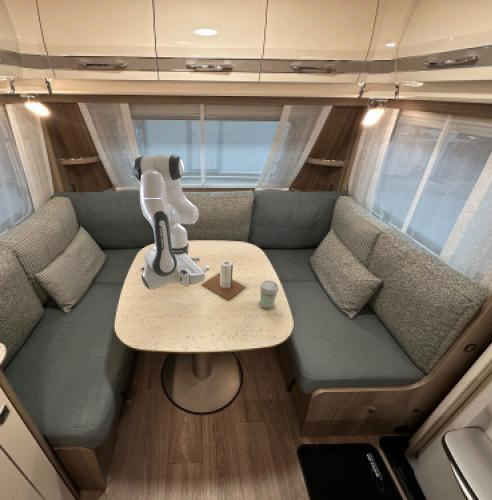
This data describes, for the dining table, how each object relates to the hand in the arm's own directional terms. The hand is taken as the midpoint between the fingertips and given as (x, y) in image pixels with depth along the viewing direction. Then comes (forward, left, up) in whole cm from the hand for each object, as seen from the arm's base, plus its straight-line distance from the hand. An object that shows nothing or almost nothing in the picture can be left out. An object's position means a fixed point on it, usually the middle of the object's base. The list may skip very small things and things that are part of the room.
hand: (203, 263), depth 128 cm
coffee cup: (+32, -5, -19) cm, 37 cm away
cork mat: (+10, +7, -19) cm, 22 cm away
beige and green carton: (+11, +8, -18) cm, 22 cm away
